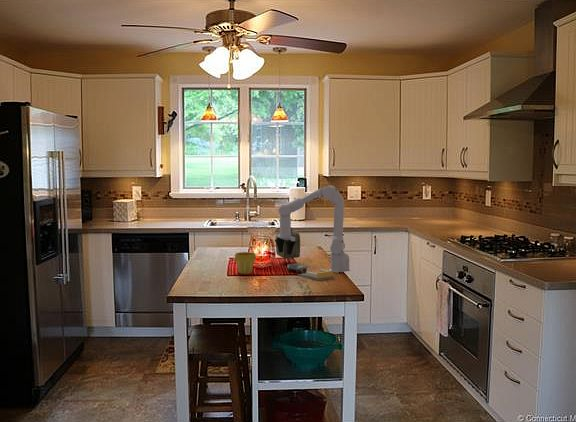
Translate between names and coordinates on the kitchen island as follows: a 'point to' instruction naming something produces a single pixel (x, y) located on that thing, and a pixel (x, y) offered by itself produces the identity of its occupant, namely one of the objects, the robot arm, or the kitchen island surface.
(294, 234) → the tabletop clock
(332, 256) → the robot arm
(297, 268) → the trolley
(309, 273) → the loading dock
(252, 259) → the plant pot
